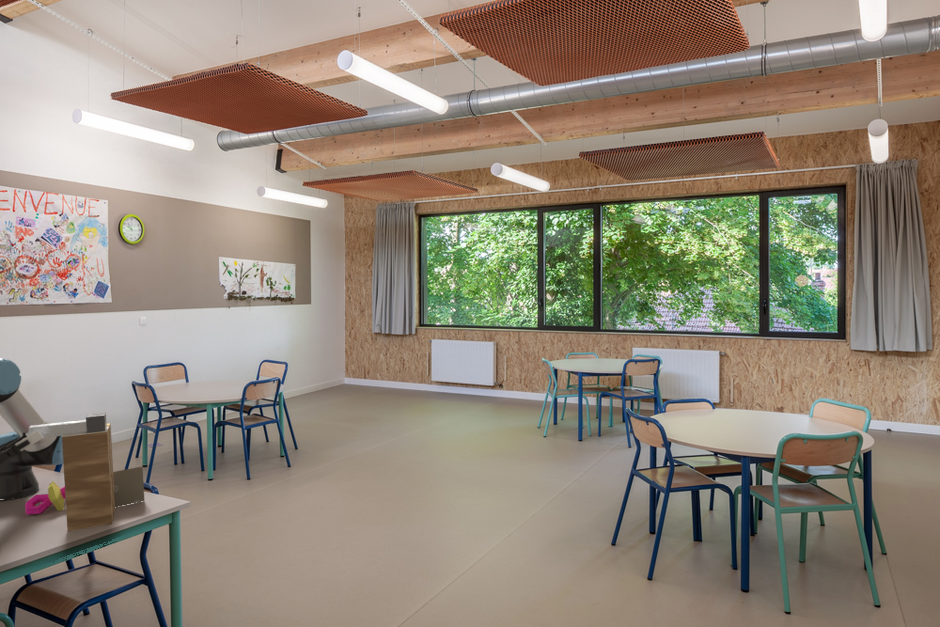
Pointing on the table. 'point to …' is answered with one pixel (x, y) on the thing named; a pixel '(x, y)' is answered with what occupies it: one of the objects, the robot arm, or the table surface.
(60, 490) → the toy
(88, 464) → the stand
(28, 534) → the table surface
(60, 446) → the robot arm
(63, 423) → the metal block
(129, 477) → the laptop
